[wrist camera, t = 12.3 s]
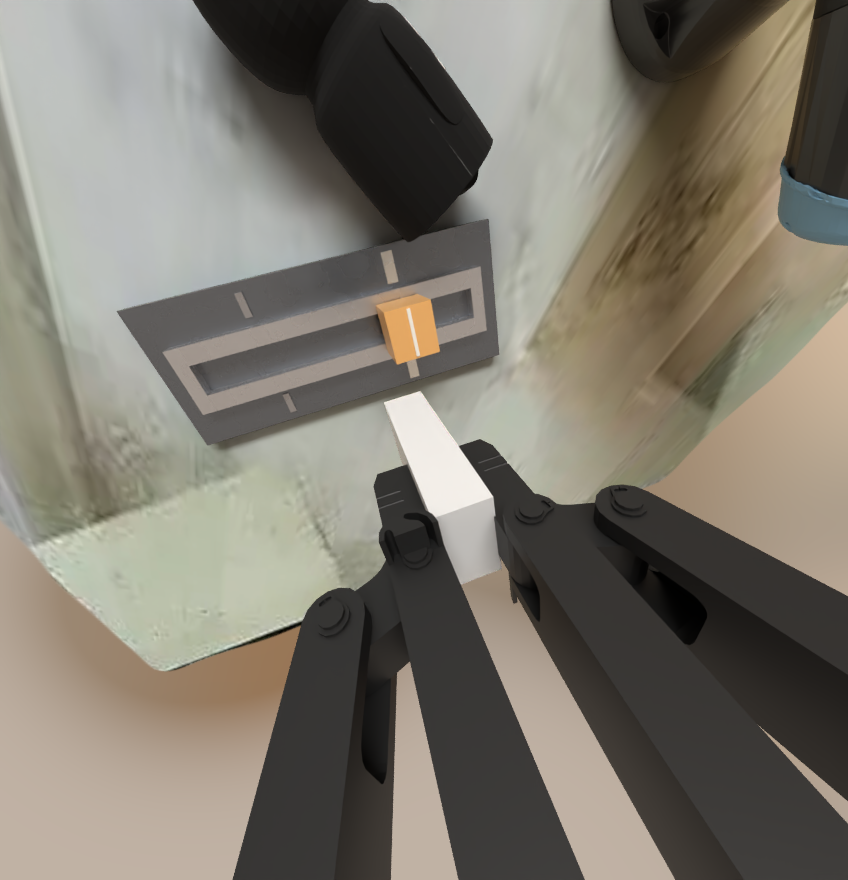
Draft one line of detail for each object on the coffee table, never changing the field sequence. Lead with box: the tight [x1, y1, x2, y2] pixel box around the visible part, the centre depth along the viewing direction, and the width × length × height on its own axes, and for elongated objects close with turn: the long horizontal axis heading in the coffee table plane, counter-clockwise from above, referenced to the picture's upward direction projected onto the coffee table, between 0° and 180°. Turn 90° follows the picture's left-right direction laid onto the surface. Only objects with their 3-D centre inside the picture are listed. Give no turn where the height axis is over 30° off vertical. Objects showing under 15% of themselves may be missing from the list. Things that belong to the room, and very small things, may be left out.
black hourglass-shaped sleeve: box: [193, 0, 493, 242], centre depth 21 cm, size 9×9×20 cm
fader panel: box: [117, 219, 499, 445], centre depth 32 cm, size 32×13×3 cm, turn 102°
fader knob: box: [376, 294, 440, 364], centre depth 30 cm, size 4×4×5 cm
